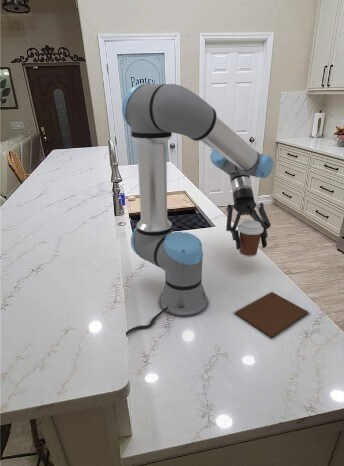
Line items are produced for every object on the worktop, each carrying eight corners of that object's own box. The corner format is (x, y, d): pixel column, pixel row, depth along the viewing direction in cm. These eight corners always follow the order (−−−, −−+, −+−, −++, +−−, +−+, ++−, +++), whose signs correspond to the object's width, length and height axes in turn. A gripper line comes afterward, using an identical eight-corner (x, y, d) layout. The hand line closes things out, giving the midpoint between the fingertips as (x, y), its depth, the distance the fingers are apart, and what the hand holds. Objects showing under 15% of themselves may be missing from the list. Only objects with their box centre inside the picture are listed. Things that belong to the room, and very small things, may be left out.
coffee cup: (265, 256, 121) (269, 226, 115) (243, 260, 118) (246, 230, 113) (252, 246, 128) (255, 217, 123) (231, 249, 126) (233, 220, 120)
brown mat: (271, 338, 94) (271, 336, 93) (235, 313, 104) (235, 311, 103) (307, 313, 103) (308, 311, 103) (271, 293, 113) (272, 291, 113)
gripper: (266, 195, 130) (276, 248, 123) (212, 197, 128) (220, 252, 121) (273, 185, 123) (284, 242, 116) (216, 188, 121) (224, 245, 114)
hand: (251, 247), depth 119 cm, fingers closed on coffee cup, 9 cm apart
